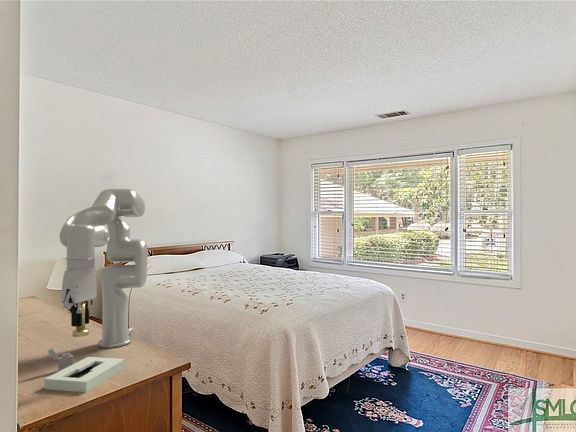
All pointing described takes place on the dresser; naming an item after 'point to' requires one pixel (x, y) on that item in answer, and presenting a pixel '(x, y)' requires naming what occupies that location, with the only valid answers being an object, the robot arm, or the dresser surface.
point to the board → (96, 376)
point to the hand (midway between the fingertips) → (80, 324)
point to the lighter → (62, 359)
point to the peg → (82, 330)
